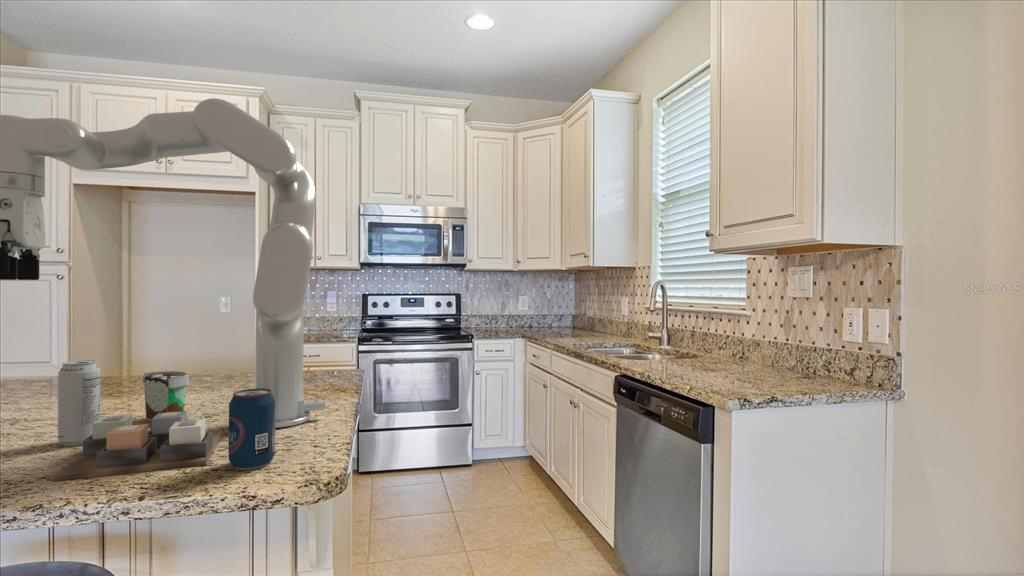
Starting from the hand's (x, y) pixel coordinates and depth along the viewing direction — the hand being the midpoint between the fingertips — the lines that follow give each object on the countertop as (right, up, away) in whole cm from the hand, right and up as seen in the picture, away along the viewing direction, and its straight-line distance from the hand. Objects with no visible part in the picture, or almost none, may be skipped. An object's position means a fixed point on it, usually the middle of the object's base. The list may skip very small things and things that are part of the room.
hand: (16, 279), depth 94 cm
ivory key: (+35, -28, -6) cm, 45 cm away
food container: (+16, -31, +19) cm, 39 cm away
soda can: (+47, -31, -9) cm, 57 cm away
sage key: (+20, -28, -3) cm, 34 cm away
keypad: (+28, -31, -5) cm, 41 cm away
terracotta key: (+27, -28, -9) cm, 40 cm away
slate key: (+28, -28, 0) cm, 39 cm away
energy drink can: (+10, -31, +2) cm, 32 cm away
